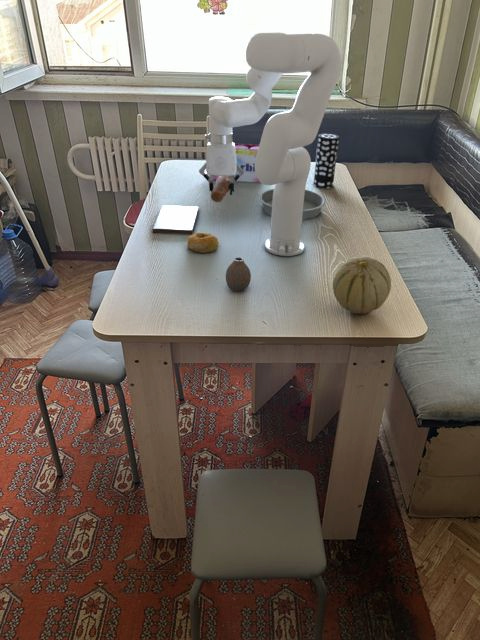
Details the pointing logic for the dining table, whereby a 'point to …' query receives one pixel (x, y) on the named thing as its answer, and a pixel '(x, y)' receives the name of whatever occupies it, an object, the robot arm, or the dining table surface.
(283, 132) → the robot arm
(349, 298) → the cantaloupe
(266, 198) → the cake pan
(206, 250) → the bagel
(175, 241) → the dining table surface
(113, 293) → the dining table surface
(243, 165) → the gum box
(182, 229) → the bread board
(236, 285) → the vase
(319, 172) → the white-spotted black cylinder
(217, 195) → the bread
